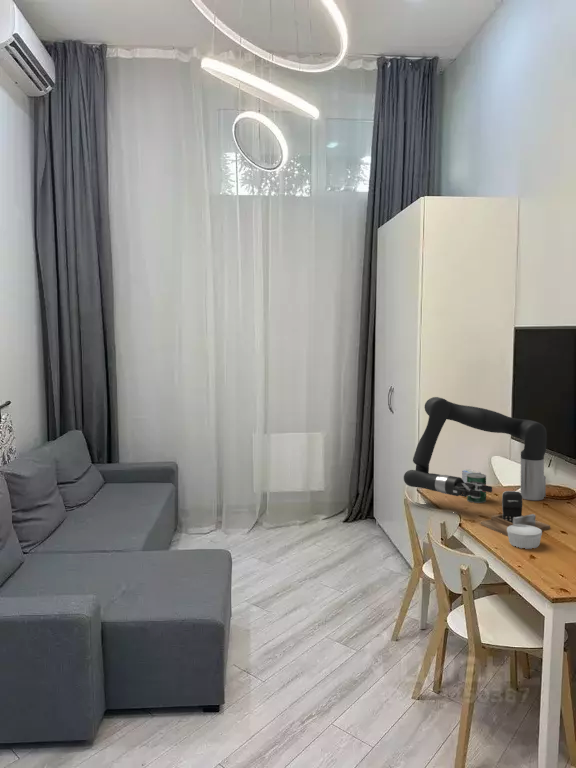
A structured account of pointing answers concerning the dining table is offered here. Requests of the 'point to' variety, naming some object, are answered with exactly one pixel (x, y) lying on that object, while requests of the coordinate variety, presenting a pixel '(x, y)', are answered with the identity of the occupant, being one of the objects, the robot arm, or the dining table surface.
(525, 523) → the rail board
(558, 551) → the dining table surface
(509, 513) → the battery charger
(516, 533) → the ramekin
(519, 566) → the dining table surface
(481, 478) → the canned tomato
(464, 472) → the medicine box
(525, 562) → the dining table surface
